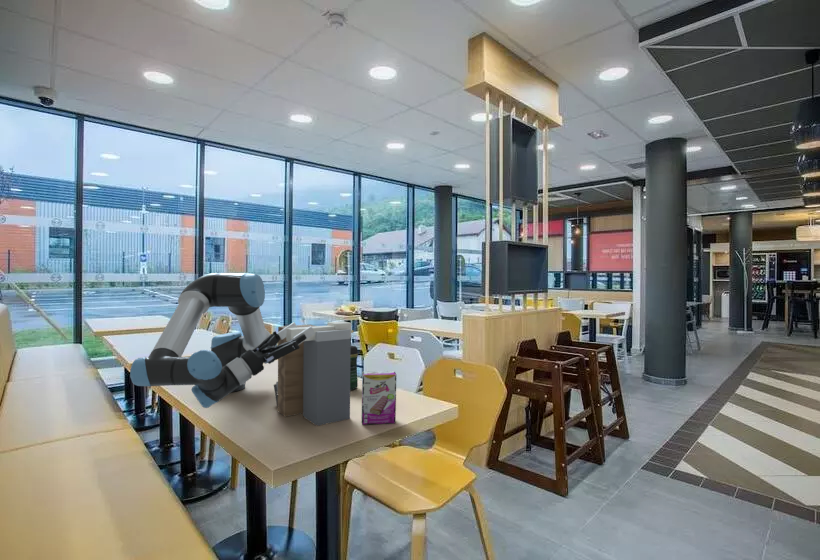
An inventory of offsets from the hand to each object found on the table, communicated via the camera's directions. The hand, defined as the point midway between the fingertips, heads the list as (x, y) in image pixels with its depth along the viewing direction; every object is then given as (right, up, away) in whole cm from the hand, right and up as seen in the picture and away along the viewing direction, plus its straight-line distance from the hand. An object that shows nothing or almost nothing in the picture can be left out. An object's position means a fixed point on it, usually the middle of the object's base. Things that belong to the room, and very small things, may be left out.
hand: (304, 327), depth 140 cm
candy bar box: (+24, -32, +1) cm, 40 cm away
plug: (+5, -4, +4) cm, 7 cm away
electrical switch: (-12, -31, +21) cm, 39 cm away
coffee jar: (+7, -31, +44) cm, 54 cm away
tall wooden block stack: (-5, -31, +12) cm, 34 cm away
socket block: (+6, -31, +5) cm, 32 cm away
